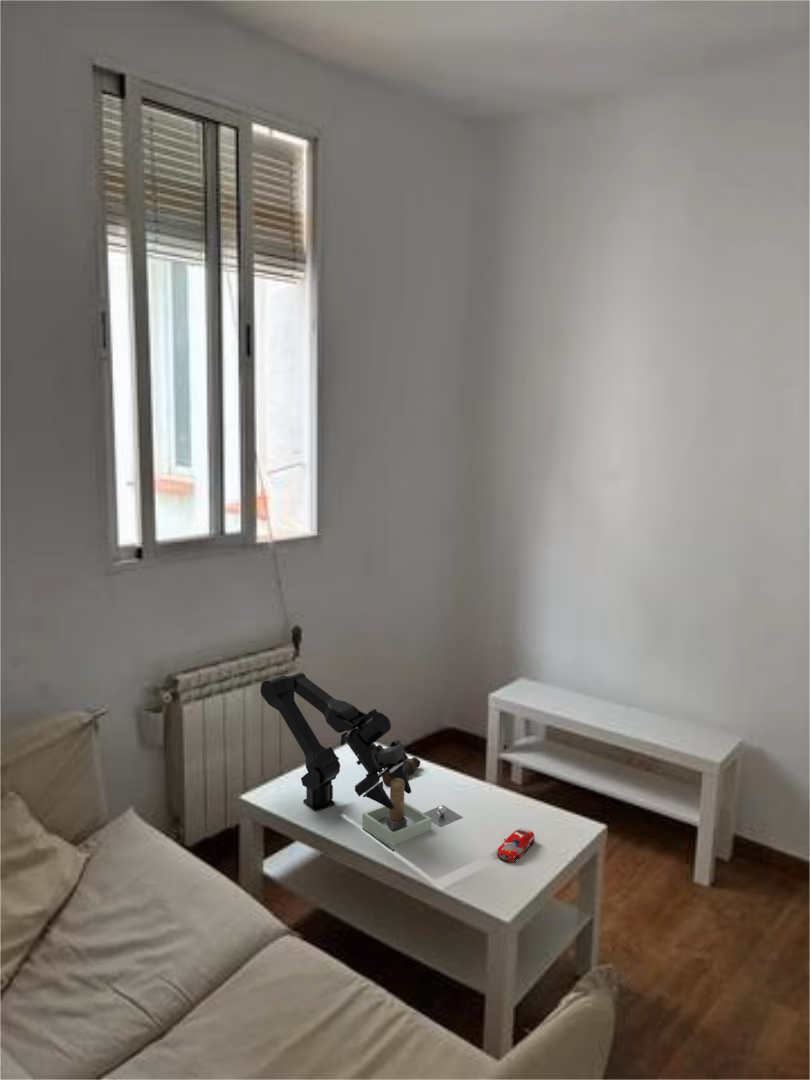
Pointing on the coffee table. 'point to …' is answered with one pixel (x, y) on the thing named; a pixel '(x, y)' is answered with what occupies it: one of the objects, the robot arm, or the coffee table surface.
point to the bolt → (410, 769)
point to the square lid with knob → (442, 816)
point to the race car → (516, 845)
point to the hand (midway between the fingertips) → (401, 800)
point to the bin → (400, 835)
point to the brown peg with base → (396, 806)
